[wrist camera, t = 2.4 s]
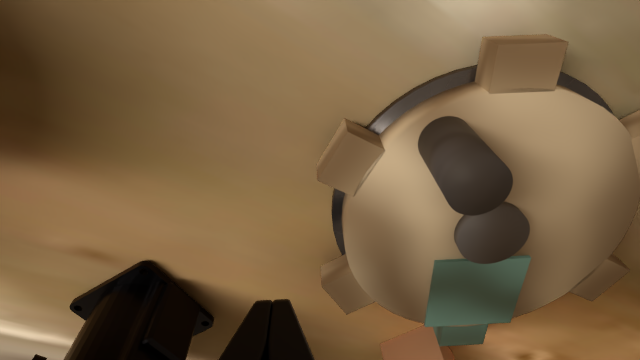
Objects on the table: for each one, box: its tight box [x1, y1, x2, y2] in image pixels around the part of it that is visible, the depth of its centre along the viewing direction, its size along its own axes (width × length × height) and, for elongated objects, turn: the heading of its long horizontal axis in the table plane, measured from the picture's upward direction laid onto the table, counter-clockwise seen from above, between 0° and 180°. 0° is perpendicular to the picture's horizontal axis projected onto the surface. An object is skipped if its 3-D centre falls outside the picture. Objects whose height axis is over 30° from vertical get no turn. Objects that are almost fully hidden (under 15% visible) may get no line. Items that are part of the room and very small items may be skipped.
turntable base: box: [332, 65, 614, 255], centre depth 22 cm, size 16×16×1 cm
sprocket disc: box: [316, 34, 640, 346], centre depth 19 cm, size 19×18×6 cm
